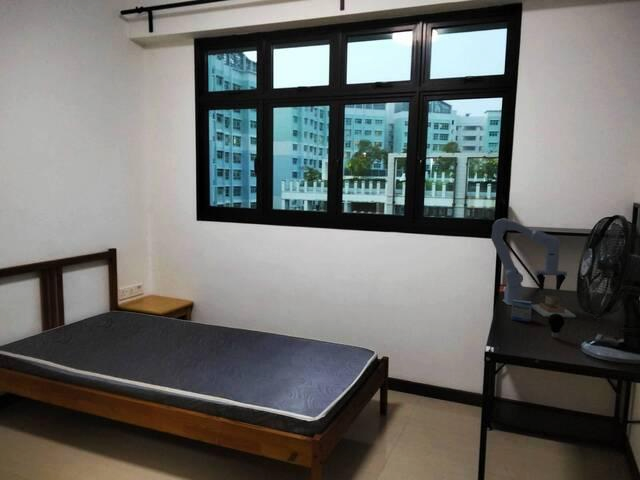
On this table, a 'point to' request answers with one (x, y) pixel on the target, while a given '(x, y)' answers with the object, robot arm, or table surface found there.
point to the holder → (551, 310)
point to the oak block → (552, 302)
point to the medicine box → (521, 310)
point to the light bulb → (556, 324)
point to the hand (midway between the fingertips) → (549, 289)
